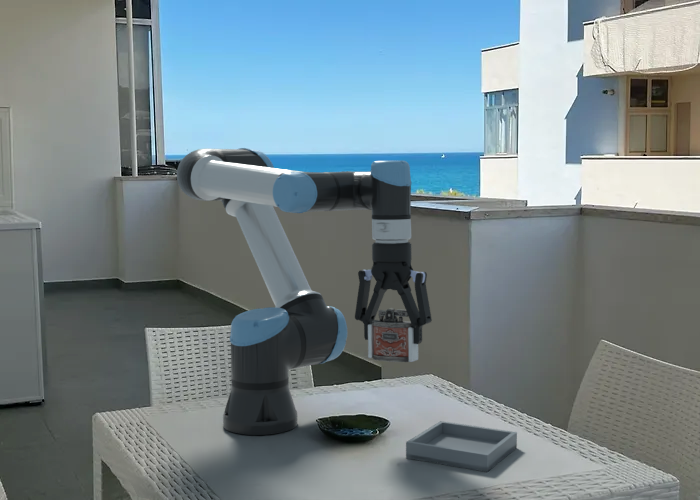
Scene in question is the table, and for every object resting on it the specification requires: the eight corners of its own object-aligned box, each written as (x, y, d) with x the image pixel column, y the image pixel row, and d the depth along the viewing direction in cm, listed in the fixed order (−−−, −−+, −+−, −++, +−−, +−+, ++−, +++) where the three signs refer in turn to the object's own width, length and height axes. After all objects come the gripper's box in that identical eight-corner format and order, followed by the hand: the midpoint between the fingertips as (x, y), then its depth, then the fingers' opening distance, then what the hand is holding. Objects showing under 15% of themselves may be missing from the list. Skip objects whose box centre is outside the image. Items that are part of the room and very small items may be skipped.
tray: (406, 458, 169) (406, 442, 168) (440, 435, 182) (440, 421, 182) (487, 472, 161) (487, 455, 161) (516, 447, 175) (516, 432, 175)
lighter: (370, 360, 180) (369, 309, 179) (376, 356, 183) (375, 306, 182) (409, 362, 177) (409, 310, 176) (415, 359, 180) (415, 308, 179)
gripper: (334, 241, 180) (336, 357, 182) (433, 243, 170) (434, 366, 171) (353, 238, 186) (355, 351, 188) (449, 241, 176) (450, 359, 178)
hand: (393, 358), depth 180 cm, fingers closed on lighter, 8 cm apart
